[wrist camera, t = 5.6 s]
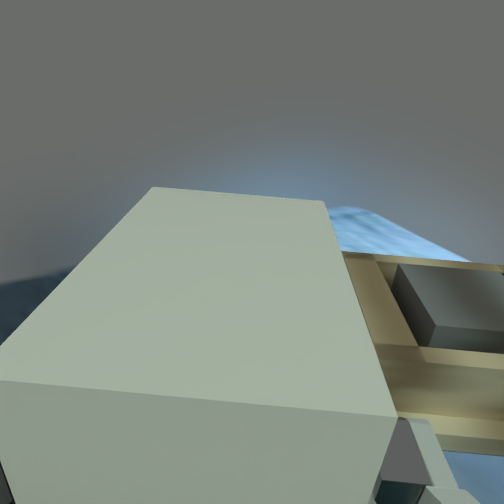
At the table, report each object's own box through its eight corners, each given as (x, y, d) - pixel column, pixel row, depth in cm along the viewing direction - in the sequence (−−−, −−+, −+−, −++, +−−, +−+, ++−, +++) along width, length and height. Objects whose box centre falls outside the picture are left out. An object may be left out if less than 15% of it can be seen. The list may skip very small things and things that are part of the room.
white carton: (102, 751, 9) (-35, 376, 4) (167, 494, 14) (150, 186, 9) (275, 770, 9) (403, 418, 4) (275, 504, 14) (326, 201, 9)
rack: (140, 421, 17) (133, 340, 15) (192, 281, 28) (192, 223, 26) (638, 468, 17) (701, 393, 15) (496, 308, 27) (521, 252, 25)
